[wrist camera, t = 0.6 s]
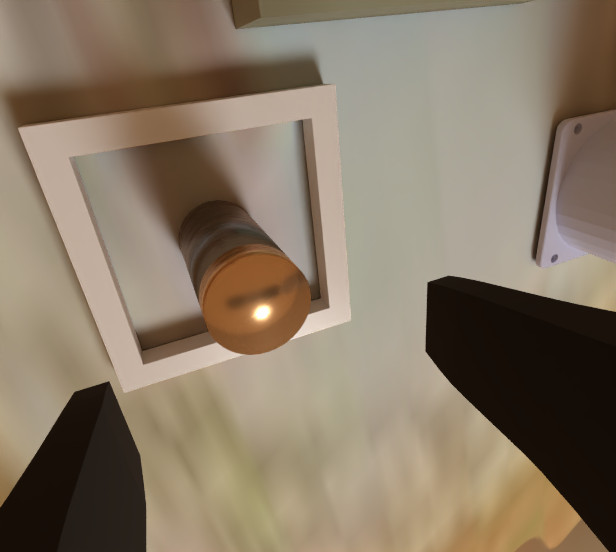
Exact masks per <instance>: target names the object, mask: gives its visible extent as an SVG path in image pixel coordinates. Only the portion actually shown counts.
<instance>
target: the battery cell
mask: <svg viewBox="0 0 616 552" xmlns="http://www.w3.org/2000/svg"><path fill="white" fill-rule="evenodd" d="M179 244H180V248H181V251H182V254H183V257H184V260H185V263H186V266H187V269H188V272H189V275H190V278H191V281H192V284H193V287H194V290H195V293H196V296H197V299H198V302H199V305H200V308H201V311H202V314H203V317H204V320H205V323H206V326H207V328H208V331H209V333H210V334H211V336H212V337H213V339H214V340H215V341H216V342H217V343H218V344H219V345H221V346H222V347H224V348H225V349H227V350H229V351H232V352H235V353H239V354H246V355H253V354H261V353H265V352H269V351H271V350H274V349H276V348H278V347H280V346H282V345H283V344H285V343H286V342H288V341H289V340H290V339H291V338H292V337H293V336H294V335H295V334H296V333H297V332H298V331H299V330H300V329H301V327H302V325H303V324H304V322H305V320H306V318H307V316H308V313H309V309H310V305H311V292H310V287H309V284H308V281H307V279H306V278H305V276H304V275H303V273H302V272H301V271H300V270H299V269H298V267H297V266H296V265H295V264H294V263H293V262H292V261H291V260H290V259H289V258H288V257H287V256H286V255H285V253H284V252H283V251H282V250H281V249H280V248H279V247H278V246H277V245H276V244H275V243H274V242H273V240H272V239H271V238H270V237H269V236H268V235H267V234H266V233H265V232H264V231H263V230H262V229H261V227H260V226H259V225H258V224H257V223H256V222H255V221H254V220H253V219H252V218H251V217H250V216H249V214H248V213H247V212H246V211H245V210H244V209H242V208H241V207H239V206H238V205H236V204H233V203H231V202H227V201H211V202H207V203H204V204H202V205H200V206H198V207H196V208H195V209H194V210H192V211H191V212H190V213H189V214H188V216H187V217H186V218H185V220H184V222H183V223H182V226H181V229H180V233H179Z"/></svg>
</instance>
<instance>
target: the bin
mask: <svg viewBox="0 0 616 552" xmlns="http://www.w3.org/2000/svg"><path fill="white" fill-rule="evenodd" d="M529 1H534V0H231V2H232V8H233V14H234V21H235V27H236V29H242V28H253V27H264V26H275V25H287V24H298V23H309V22H320V21H331V20H342V19H353V18H364V17H375V16H386V15H397V14H408V13H419V12H430V11H441V10H452V9H463V8H474V7H485V6H497V5H508V4H519V3H524V2H529Z"/></svg>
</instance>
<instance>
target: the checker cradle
mask: <svg viewBox="0 0 616 552" xmlns="http://www.w3.org/2000/svg"><path fill="white" fill-rule="evenodd" d="M297 120H302V122H303V132H304V141H305V151H306V161H307V170H308V180H309V189H310V199H311V209H312V218H313V228H314V237H315V247H316V257H317V266H318V276H319V286H320V295H321V298H320V299H316V300H313V301H311V305H310V309H309V313H308V316H307V318H306V320H305V322H304V324H303V325H302V327H301V329H300V330H299V331H298V332H297V333H296V334H295V335H294V336H293V337H292V338H291V339H295V338H298V337H301V336H304V335H307V334H310V333H313V332H316V331H320V330H323V329H326V328H329V327H332V326H335V325H338V324H341V323H345V322H348V321H351V311H350V297H349V282H348V267H347V252H346V237H345V223H344V208H343V193H342V178H341V163H340V149H339V134H338V119H337V104H336V89H335V84H318V85H311V86H304V87H297V88H289V89H282V90H275V91H267V92H260V93H253V94H246V95H238V96H231V97H224V98H216V99H209V100H202V101H194V102H187V103H180V104H173V105H165V106H158V107H151V108H143V109H136V110H129V111H122V112H114V113H107V114H100V115H92V116H85V117H78V118H71V119H63V120H56V121H49V122H41V123H34V124H27V125H23V126H21V127H19V128H18V130H19V133H20V135H21V138H22V140H23V142H24V145H25V147H26V150H27V152H28V155H29V157H30V160H31V162H32V165H33V167H34V170H35V172H36V175H37V177H38V180H39V182H40V185H41V187H42V190H43V192H44V195H45V197H46V200H47V202H48V205H49V207H50V210H51V212H52V215H53V217H54V220H55V222H56V225H57V227H58V230H59V232H60V235H61V237H62V240H63V242H64V245H65V247H66V250H67V252H68V254H69V257H70V259H71V262H72V264H73V267H74V269H75V272H76V274H77V277H78V279H79V282H80V284H81V287H82V289H83V292H84V294H85V297H86V299H87V302H88V304H89V307H90V309H91V312H92V314H93V317H94V319H95V322H96V324H97V327H98V329H99V332H100V334H101V337H102V339H103V342H104V344H105V347H106V349H107V352H108V354H109V357H110V359H111V362H112V364H113V366H114V369H115V371H116V374H117V376H118V379H119V381H120V384H121V386H122V389H123V391H124V393H126V392H129V391H132V390H135V389H138V388H141V387H145V386H148V385H151V384H154V383H157V382H160V381H163V380H166V379H170V378H173V377H176V376H179V375H182V374H185V373H188V372H191V371H195V370H198V369H201V368H204V367H207V366H210V365H213V364H216V363H220V362H223V361H226V360H229V359H232V358H235V357H238V356H241V355H245V354H239V353H235V352H232V351H229V350H227V349H225V348H224V347H222V346H221V345H219V344H218V343H217V342H216V341H215V340H214V339H213V337H212V336H211V334H210V333H209V331H208V332H205V333H202V334H198V335H195V336H192V337H188V338H185V339H181V340H178V341H175V342H171V343H168V344H165V345H161V346H158V347H155V348H151V349H148V350H144V351H142V349H141V346H140V343H139V340H138V337H137V335H136V332H135V329H134V326H133V323H132V321H131V318H130V315H129V312H128V309H127V306H126V304H125V301H124V298H123V295H122V292H121V289H120V287H119V284H118V281H117V278H116V275H115V273H114V270H113V267H112V264H111V261H110V258H109V256H108V253H107V250H106V247H105V244H104V242H103V239H102V236H101V233H100V230H99V227H98V225H97V222H96V219H95V216H94V213H93V210H92V208H91V205H90V202H89V199H88V196H87V194H86V191H85V188H84V185H83V182H82V179H81V177H80V174H79V171H78V168H77V165H76V162H75V160H74V156H80V155H86V154H92V153H98V152H105V151H111V150H117V149H123V148H129V147H136V146H142V145H148V144H154V143H160V142H167V141H173V140H179V139H185V138H191V137H198V136H204V135H210V134H216V133H222V132H229V131H235V130H241V129H247V128H253V127H260V126H266V125H272V124H278V123H284V122H291V121H297ZM291 339H290V340H291Z"/></svg>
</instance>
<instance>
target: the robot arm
mask: <svg viewBox="0 0 616 552" xmlns="http://www.w3.org/2000/svg"><path fill="white" fill-rule="evenodd" d="M587 254H592V255H594V256H597V257H600V258H602V259H605V260H608V261H610V262H613V263H616V109H614V110H609V111H604V112H599V113H594V114H589V115H584V116H579V117H574V118H569V119H565V120H563V121H562V122H561V123H560V124H559V126H558V127H557V131H556V136H555V143H554V149H553V155H552V161H551V168H550V174H549V180H548V186H547V192H546V199H545V205H544V211H543V217H542V224H541V230H540V236H539V242H538V249H537V255H536V265H537V266H539V267H541V268H548V267H551V266H554V265H557V264H560V263H563V262H566V261H569V260H572V259H575V258H578V257H581V256H584V255H587ZM426 353H427V354H428V355H429V356H430V358H431V359H432V360H433V362H434V363H435V364H436V366H437V367H438V368H439V370H440V371H441V372H442V373H443V374H444V376H445V377H446V378H447V379H448V380H449V382H450V383H451V384H452V385H453V386H454V387H455V388H456V389H457V390H458V391H459V392H460V393H461V394H462V395H463V396H464V397H465V398H466V399H467V400H468V401H469V402H470V403H471V404H472V405H473V406H474V407H475V408H477V409H478V410H479V411H480V412H481V413H482V414H483V415H484V416H485V417H486V418H487V419H488V420H489V421H490V422H491V423H492V424H493V425H494V426H495V427H496V428H498V429H499V430H500V431H501V432H502V433H503V434H504V435H505V436H506V437H507V438H508V439H509V440H510V441H511V442H512V443H513V444H514V445H515V446H516V447H517V448H519V449H520V450H521V451H522V452H523V453H524V454H525V455H526V456H527V457H528V458H529V459H530V460H531V461H532V462H533V463H534V465H535V466H536V467H537V468H538V469H539V470H540V471H541V472H542V473H543V474H544V475H545V476H546V478H547V479H548V480H549V481H550V482H551V483H552V484H553V486H554V487H555V488H556V489H557V490H558V491H559V492H560V494H561V495H562V496H563V497H564V498H565V499H566V500H567V502H568V503H569V504H570V505H571V506H572V507H573V509H574V510H575V511H576V512H577V513H578V515H579V516H580V517H581V518H582V519H583V521H584V522H585V523H586V524H587V525H588V527H589V528H590V529H591V530H592V532H593V533H594V534H595V535H596V536H597V538H598V539H599V540H600V541H601V542H602V544H603V545H604V546H605V547H606V549H607V550H608V551H609V552H616V312H613V311H608V310H603V309H598V308H593V307H588V306H583V305H578V304H574V303H569V302H565V301H560V300H556V299H551V298H547V297H543V296H539V295H534V294H530V293H526V292H522V291H518V290H514V289H510V288H506V287H502V286H497V285H493V284H489V283H485V282H480V281H476V280H471V279H466V278H461V277H454V276H446V277H443V278H440V279H437V280H434V281H430V282H428V286H427V318H426ZM0 552H146V500H145V491H144V482H143V474H142V466H141V458H140V454H139V452H138V449H137V447H136V445H135V442H134V440H133V437H132V435H131V433H130V430H129V428H128V425H127V423H126V420H125V418H124V416H123V413H122V411H121V408H120V406H119V404H118V401H117V399H116V396H115V394H114V392H113V389H112V387H111V384H110V382H105V383H102V384H99V385H96V386H92V387H89V388H86V389H83V390H80V391H76V392H74V394H73V395H72V397H71V398H70V400H69V401H68V403H67V405H66V406H65V408H64V409H63V411H62V412H61V414H60V416H59V417H58V419H57V421H56V422H55V424H54V425H53V427H52V429H51V430H50V432H49V434H48V435H47V437H46V438H45V440H44V442H43V443H42V445H41V446H40V448H39V450H38V451H37V453H36V454H35V456H34V457H33V459H32V461H31V462H30V464H29V465H28V467H27V468H26V470H25V471H24V473H23V474H22V476H21V477H20V479H19V480H18V482H17V484H16V485H15V487H14V488H13V490H12V491H11V493H10V494H9V496H8V497H7V499H6V500H5V502H4V503H3V505H2V506H1V507H0Z"/></svg>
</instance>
